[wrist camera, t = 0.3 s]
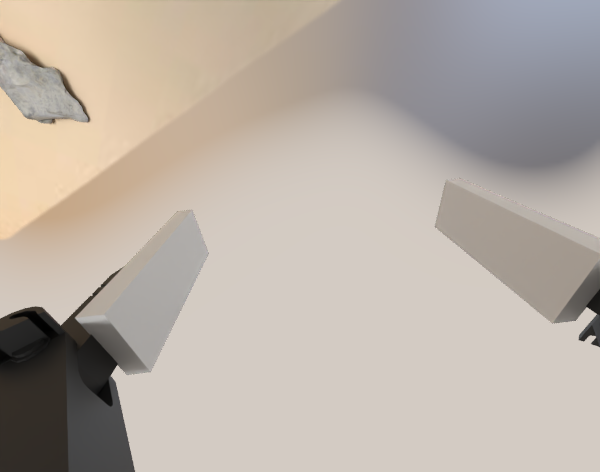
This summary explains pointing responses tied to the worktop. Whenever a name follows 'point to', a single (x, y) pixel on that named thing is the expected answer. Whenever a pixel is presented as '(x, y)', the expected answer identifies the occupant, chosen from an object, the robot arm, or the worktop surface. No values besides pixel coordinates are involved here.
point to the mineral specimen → (36, 88)
